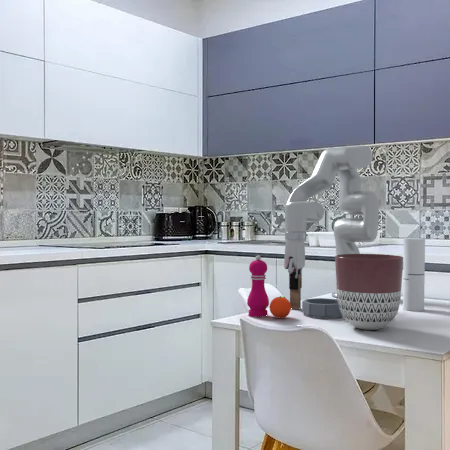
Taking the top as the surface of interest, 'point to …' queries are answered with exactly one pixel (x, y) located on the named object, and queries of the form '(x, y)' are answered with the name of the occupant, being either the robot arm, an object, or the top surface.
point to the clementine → (280, 307)
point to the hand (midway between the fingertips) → (295, 288)
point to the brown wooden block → (296, 296)
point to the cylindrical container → (413, 274)
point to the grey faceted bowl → (321, 308)
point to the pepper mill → (258, 289)
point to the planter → (368, 288)
